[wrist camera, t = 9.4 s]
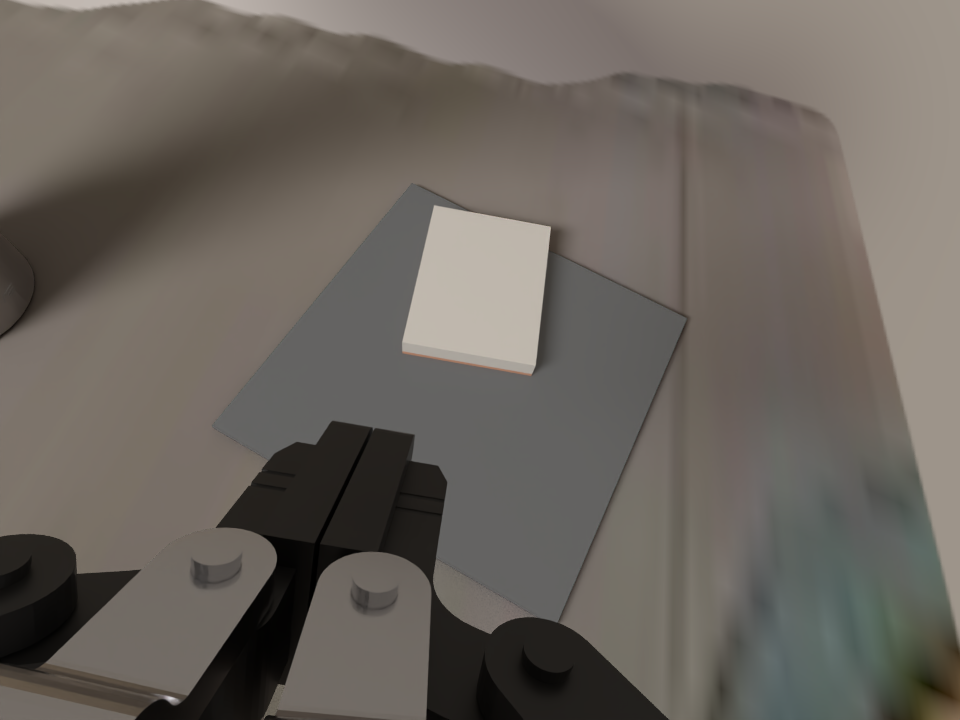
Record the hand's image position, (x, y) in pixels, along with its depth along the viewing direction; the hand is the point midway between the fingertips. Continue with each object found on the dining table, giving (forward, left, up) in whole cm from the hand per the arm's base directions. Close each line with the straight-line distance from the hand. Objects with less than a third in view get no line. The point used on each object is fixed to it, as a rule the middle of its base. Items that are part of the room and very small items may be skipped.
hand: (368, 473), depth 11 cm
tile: (-4, +15, -25) cm, 29 cm away
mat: (-3, +15, -26) cm, 30 cm away
